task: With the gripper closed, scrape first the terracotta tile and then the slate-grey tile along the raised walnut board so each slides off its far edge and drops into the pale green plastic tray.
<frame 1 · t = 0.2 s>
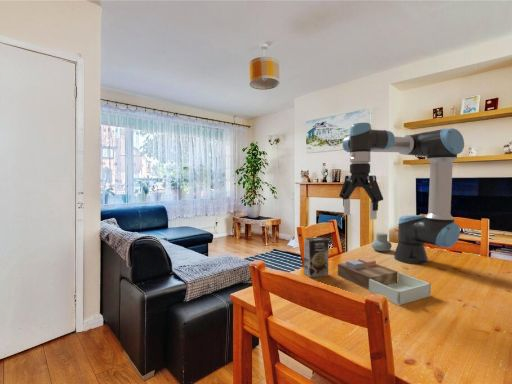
hand: (359, 216, 109), 27 cm above the table, tool pointing down, fingers open, 13 cm apart
terracotta tile: (367, 264, 119), point 5 cm above the table, touching board
slate tile: (354, 266, 117), point 5 cm above the table, touching board
air freshener: (381, 250, 159), on the table
coffee box: (316, 274, 122), on the table
tray: (398, 293, 101), on the table
board: (366, 279, 116), on the table
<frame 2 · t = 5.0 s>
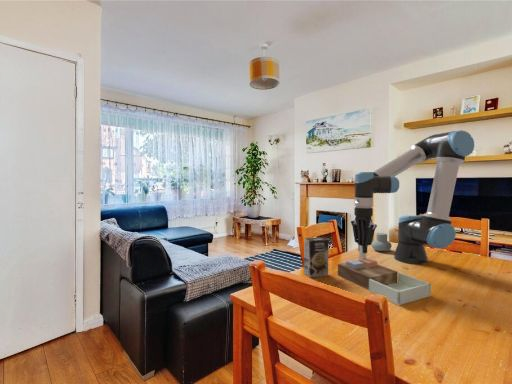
hand: (362, 259, 122), 6 cm above the table, tool pointing down, fingers closed
terracotta tile: (368, 264, 119), point 5 cm above the table, touching board, gripper
everything else where it was.
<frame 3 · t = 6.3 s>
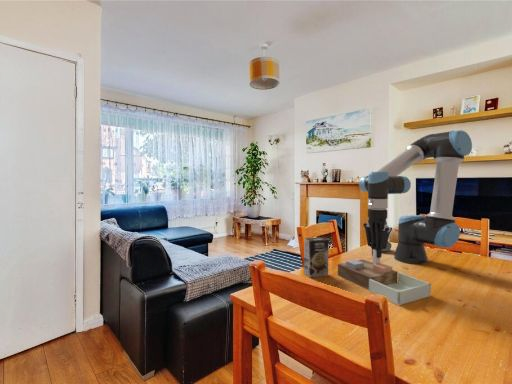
hand: (376, 264, 115), 6 cm above the table, tool pointing down, fingers closed
terracotta tile: (382, 270, 112), point 5 cm above the table, touching board, gripper
everything else where it was.
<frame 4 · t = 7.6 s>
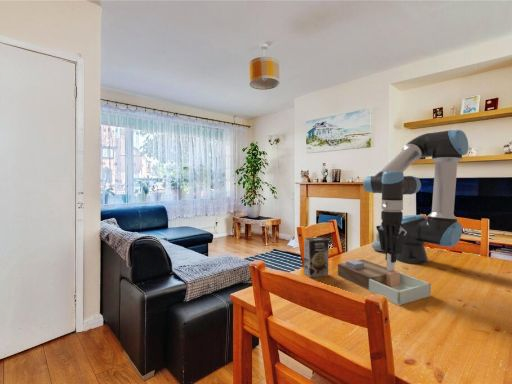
hand: (390, 269, 108), 6 cm above the table, tool pointing down, fingers closed
terracotta tile: (390, 278, 108), point 3 cm above the table, tilted 90°, touching tray
everything else where it was.
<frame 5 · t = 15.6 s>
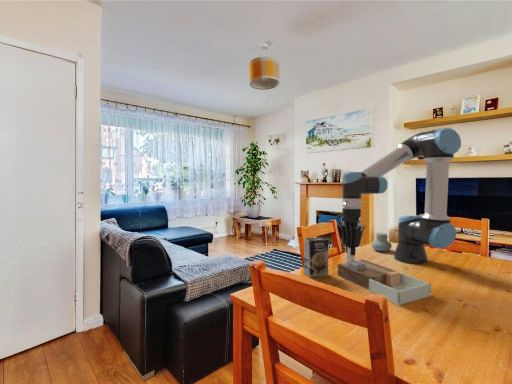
hand: (350, 261, 119), 6 cm above the table, tool pointing down, fingers closed
slate tile: (356, 267, 116), point 5 cm above the table, touching board, gripper
everything else where it was.
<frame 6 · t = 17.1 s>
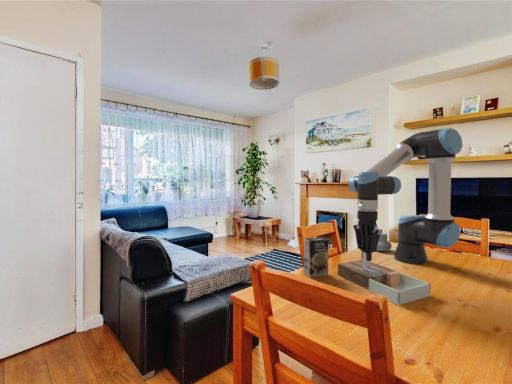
hand: (366, 267, 111), 6 cm above the table, tool pointing down, fingers closed
slate tile: (372, 274, 108), point 5 cm above the table
everything else where it was.
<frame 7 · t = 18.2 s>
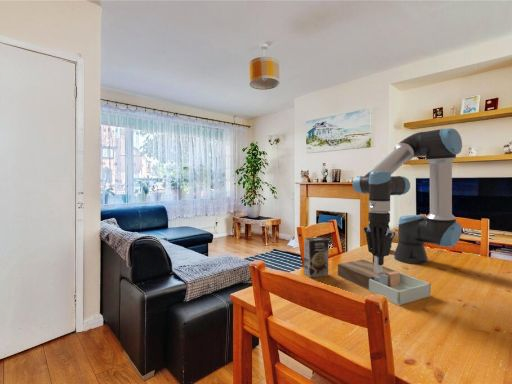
hand: (378, 272, 105), 6 cm above the table, tool pointing down, fingers closed
slate tile: (378, 281, 105), point 3 cm above the table, tilted 90°, touching tray
everything else where it was.
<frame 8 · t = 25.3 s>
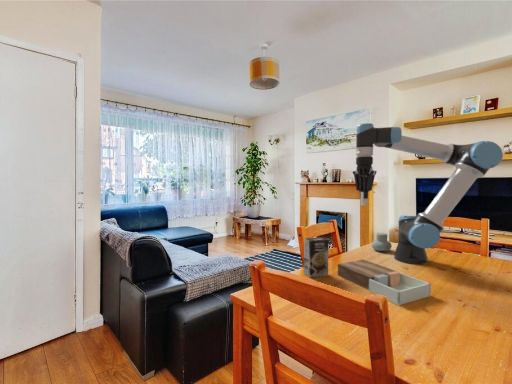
hand: (363, 205, 133), 29 cm above the table, tool pointing down, fingers closed
nothing on the table moved.
at the end: terracotta tile inside the target area (7.2 cm from its centre), point 3.1 cm above the table; slate tile inside the target area (7.2 cm from its centre), point 3.1 cm above the table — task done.
